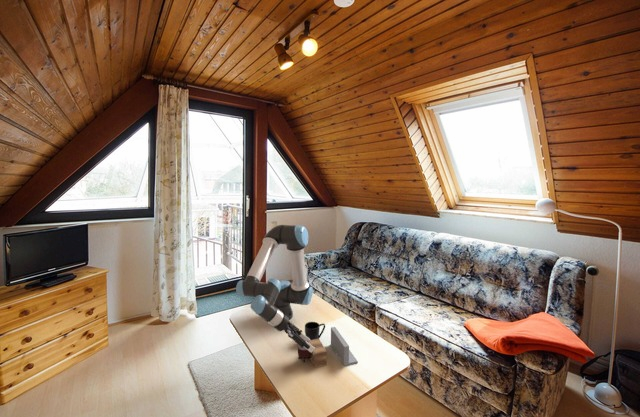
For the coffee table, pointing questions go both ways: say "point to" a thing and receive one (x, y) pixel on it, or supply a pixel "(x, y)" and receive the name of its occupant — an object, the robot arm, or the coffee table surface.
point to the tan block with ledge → (318, 353)
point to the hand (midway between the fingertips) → (310, 346)
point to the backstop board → (341, 348)
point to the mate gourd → (303, 353)
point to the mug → (313, 330)
